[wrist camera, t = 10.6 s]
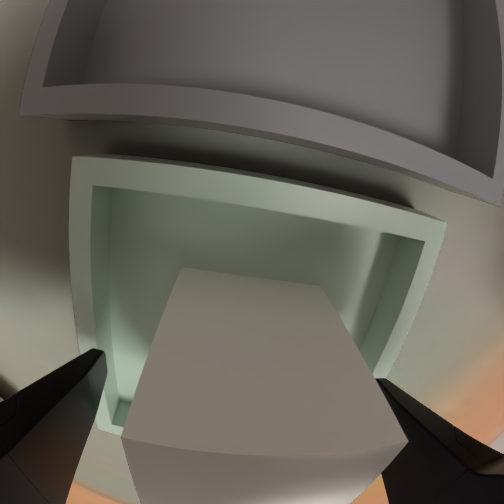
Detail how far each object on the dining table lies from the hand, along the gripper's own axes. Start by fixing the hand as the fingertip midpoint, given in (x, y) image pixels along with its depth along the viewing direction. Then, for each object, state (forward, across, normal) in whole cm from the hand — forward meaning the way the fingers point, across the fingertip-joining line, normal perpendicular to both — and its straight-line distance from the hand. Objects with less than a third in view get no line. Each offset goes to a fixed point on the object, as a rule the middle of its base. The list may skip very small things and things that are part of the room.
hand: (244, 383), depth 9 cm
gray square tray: (+3, 0, -15) cm, 15 cm away
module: (+3, 0, 0) cm, 3 cm away
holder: (+3, 0, 0) cm, 3 cm away
